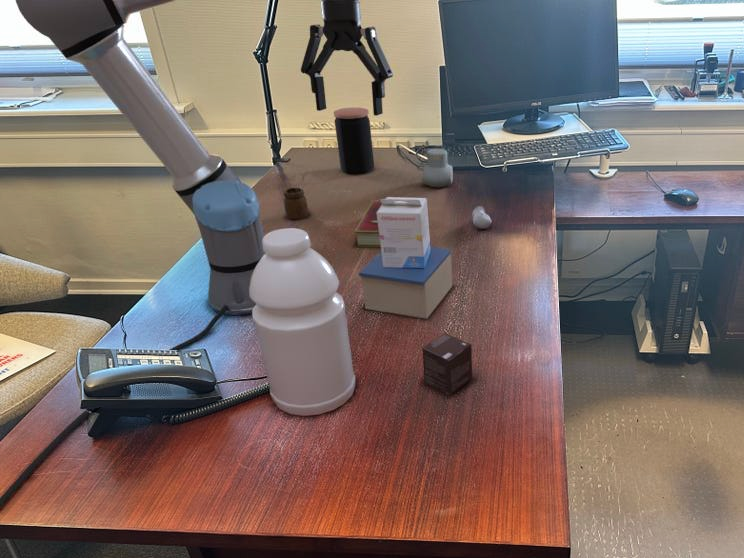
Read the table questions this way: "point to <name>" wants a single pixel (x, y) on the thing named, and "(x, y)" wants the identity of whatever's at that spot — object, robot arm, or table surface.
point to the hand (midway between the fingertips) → (349, 112)
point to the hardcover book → (369, 227)
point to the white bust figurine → (481, 218)
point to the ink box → (404, 232)
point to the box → (447, 363)
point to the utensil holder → (295, 202)
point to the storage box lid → (406, 269)
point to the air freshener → (437, 169)
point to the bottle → (301, 326)
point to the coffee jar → (354, 140)
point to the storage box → (408, 293)
